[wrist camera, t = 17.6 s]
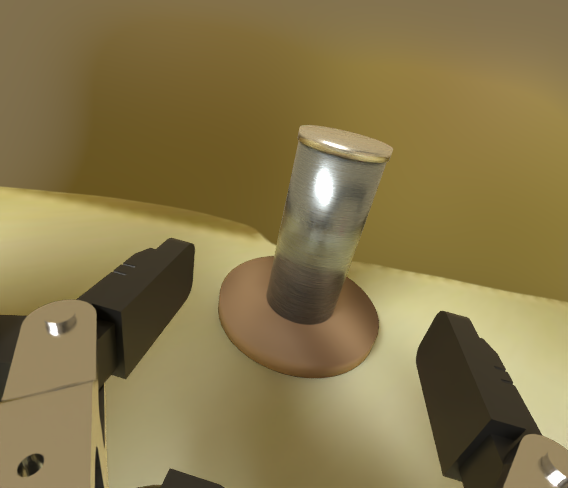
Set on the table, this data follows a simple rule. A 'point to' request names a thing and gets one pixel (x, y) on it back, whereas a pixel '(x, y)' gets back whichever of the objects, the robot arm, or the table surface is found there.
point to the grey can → (323, 220)
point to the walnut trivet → (295, 326)
